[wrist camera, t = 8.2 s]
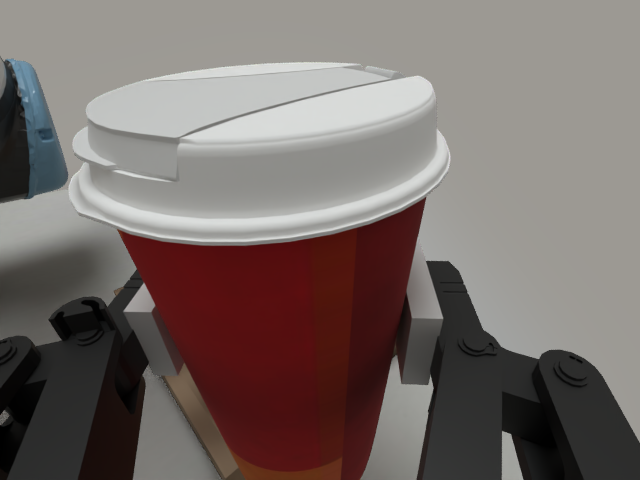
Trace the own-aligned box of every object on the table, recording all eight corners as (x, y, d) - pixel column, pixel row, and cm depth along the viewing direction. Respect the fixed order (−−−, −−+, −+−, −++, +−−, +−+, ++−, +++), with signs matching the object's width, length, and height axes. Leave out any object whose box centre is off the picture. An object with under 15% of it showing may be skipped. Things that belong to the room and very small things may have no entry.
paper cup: (336, 339, 19) (332, 51, 12) (437, 475, 14) (565, 90, 6) (191, 406, 16) (54, 81, 9) (243, 614, 11) (-24, 218, 3)
